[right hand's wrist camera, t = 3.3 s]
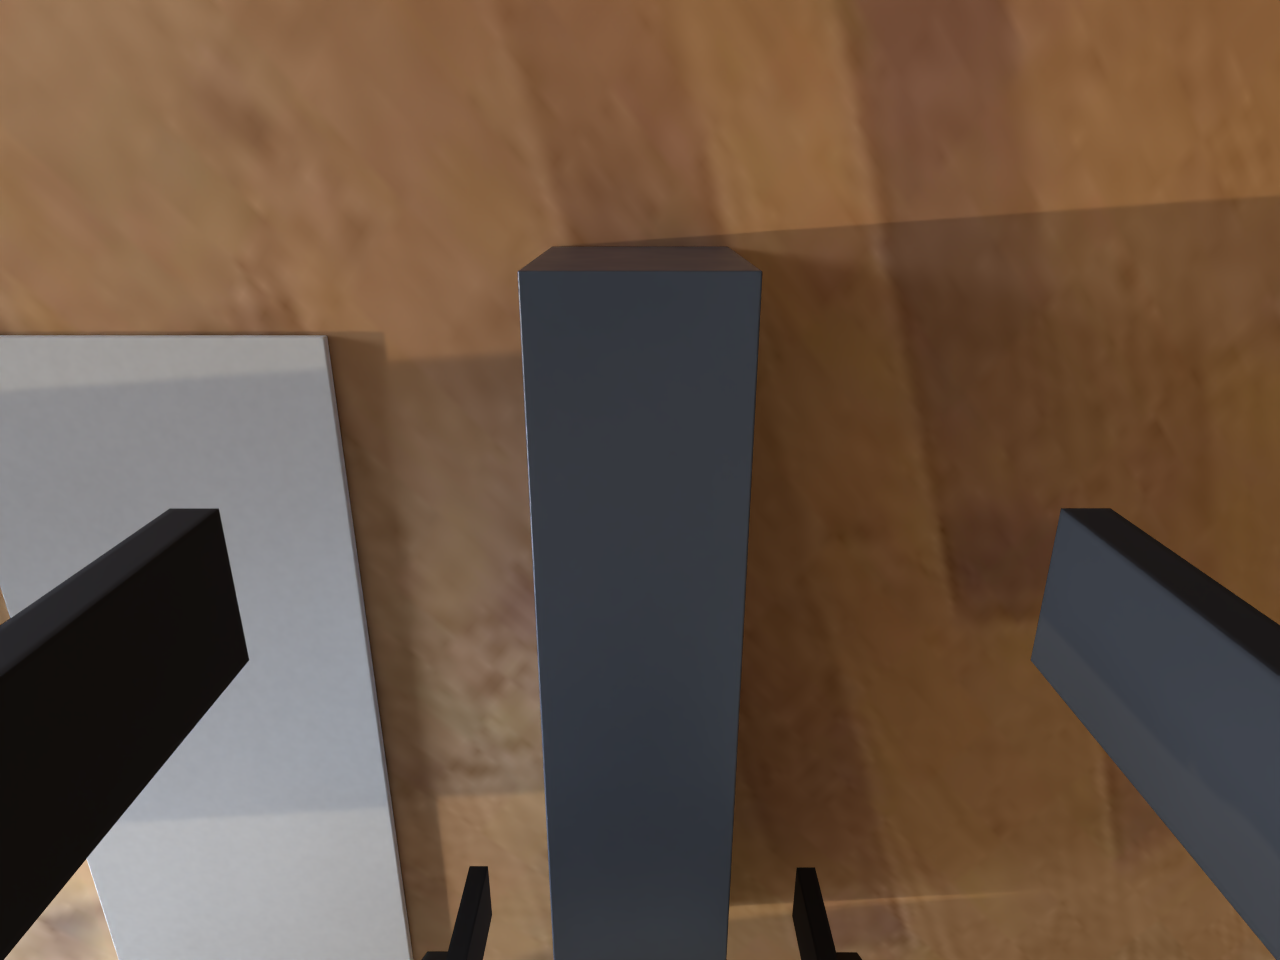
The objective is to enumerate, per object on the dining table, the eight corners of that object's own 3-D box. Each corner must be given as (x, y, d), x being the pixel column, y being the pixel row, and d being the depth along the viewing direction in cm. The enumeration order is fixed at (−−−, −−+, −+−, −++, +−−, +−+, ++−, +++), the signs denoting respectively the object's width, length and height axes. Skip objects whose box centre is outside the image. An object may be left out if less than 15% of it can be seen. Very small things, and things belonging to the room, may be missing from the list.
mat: (150, 1039, 41) (146, 1048, 40) (-70, 334, 28) (-80, 337, 28) (424, 1039, 41) (422, 1048, 40) (327, 334, 28) (323, 337, 28)
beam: (576, 908, 37) (560, 1090, 30) (551, 246, 27) (517, 270, 19) (703, 908, 37) (719, 1090, 30) (728, 246, 27) (762, 270, 19)
